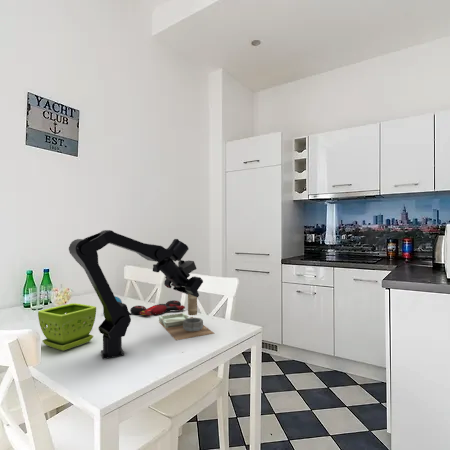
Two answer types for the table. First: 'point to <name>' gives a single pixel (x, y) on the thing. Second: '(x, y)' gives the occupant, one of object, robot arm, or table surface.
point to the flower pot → (67, 325)
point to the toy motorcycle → (157, 308)
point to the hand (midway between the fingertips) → (195, 295)
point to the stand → (184, 326)
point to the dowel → (192, 305)
